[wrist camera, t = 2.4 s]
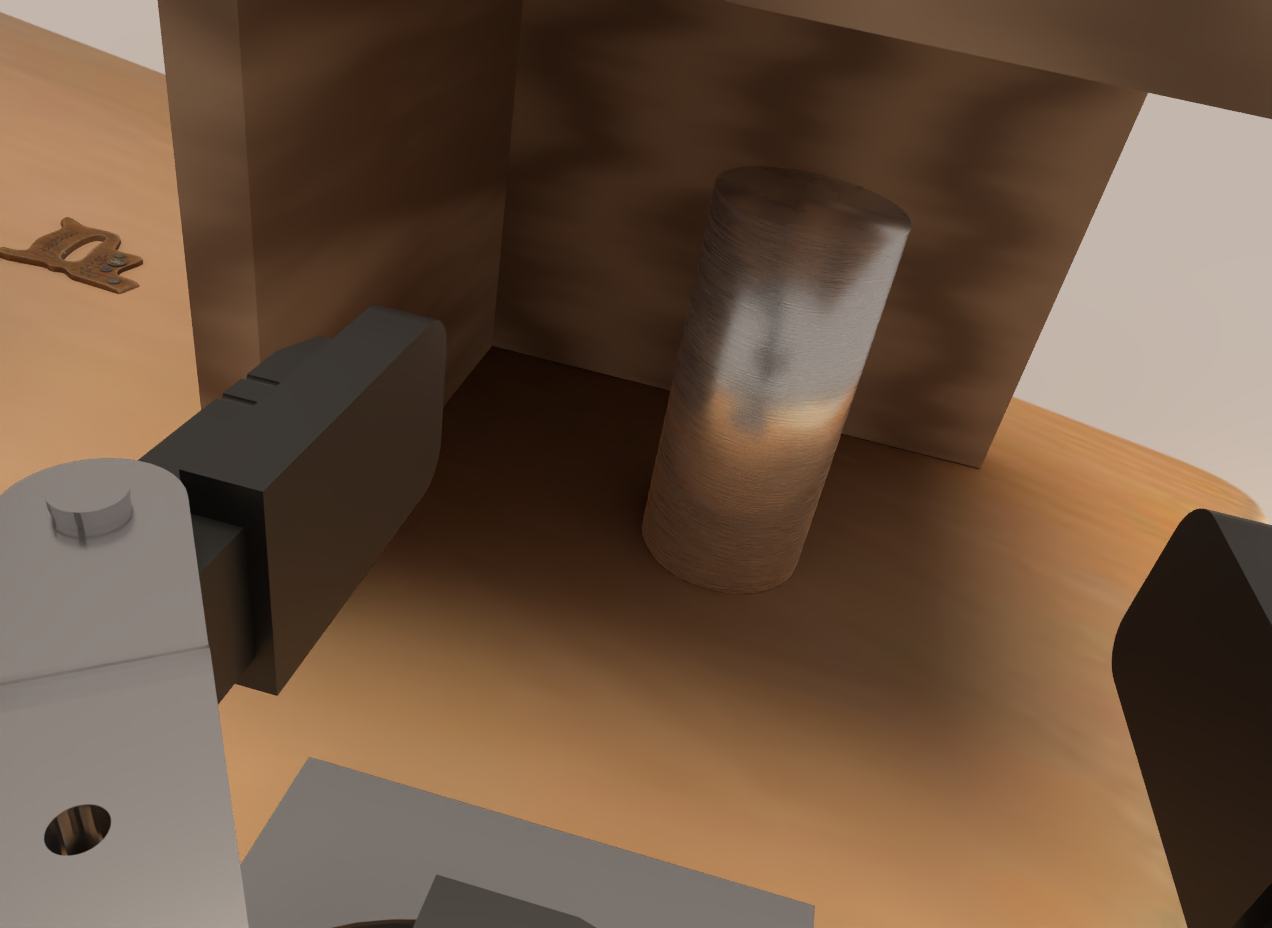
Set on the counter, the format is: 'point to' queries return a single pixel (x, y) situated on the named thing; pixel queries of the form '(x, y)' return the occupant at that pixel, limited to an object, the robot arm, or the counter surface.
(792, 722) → the counter surface
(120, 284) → the hand saw
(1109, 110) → the walnut desk
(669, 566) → the steel tin
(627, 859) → the rubber mat
